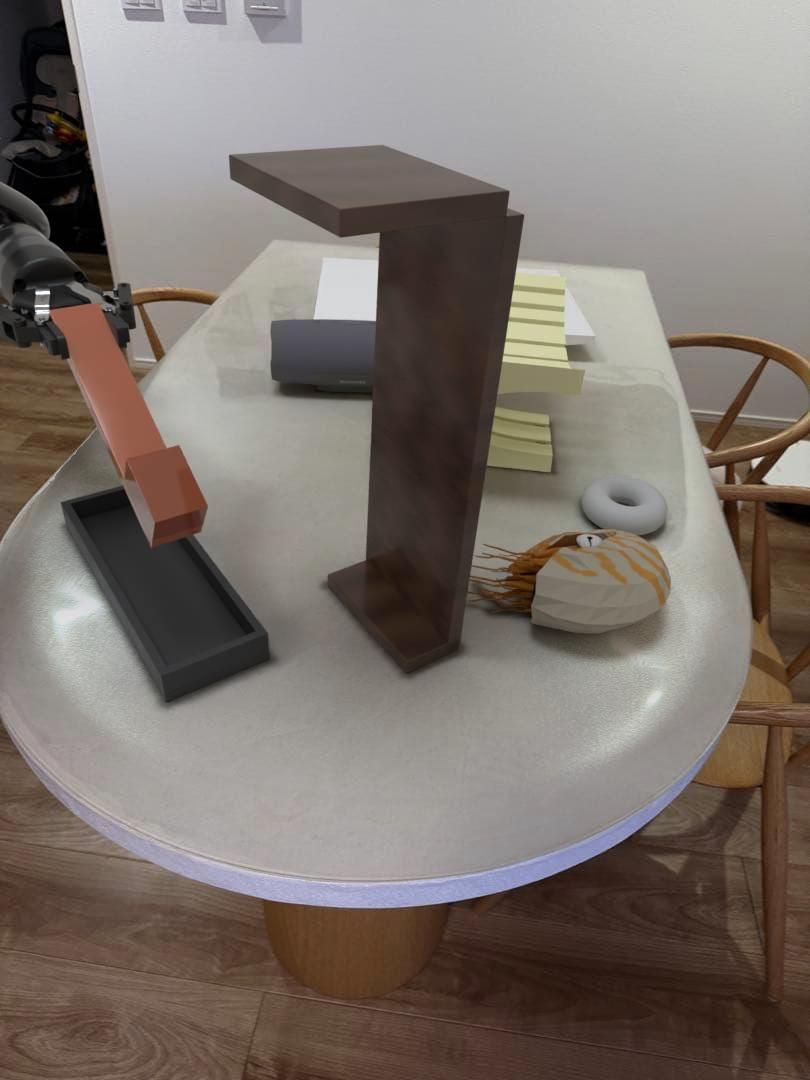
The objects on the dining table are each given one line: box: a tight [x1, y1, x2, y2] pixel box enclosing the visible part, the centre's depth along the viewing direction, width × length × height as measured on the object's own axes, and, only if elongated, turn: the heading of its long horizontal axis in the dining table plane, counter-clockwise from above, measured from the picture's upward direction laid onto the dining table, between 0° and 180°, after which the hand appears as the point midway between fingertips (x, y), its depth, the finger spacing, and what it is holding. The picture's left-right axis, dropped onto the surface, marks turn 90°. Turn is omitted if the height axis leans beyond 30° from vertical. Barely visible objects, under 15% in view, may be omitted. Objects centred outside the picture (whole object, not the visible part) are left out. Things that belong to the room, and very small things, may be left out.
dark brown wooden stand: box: [228, 144, 525, 674], centre depth 60 cm, size 14×14×40 cm
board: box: [313, 257, 596, 346], centre depth 135 cm, size 45×32×5 cm
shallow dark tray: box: [60, 484, 270, 703], centre depth 74 cm, size 29×10×3 cm, turn 35°
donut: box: [580, 474, 669, 536], centre depth 89 cm, size 10×4×10 cm
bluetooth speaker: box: [269, 318, 376, 393], centre depth 110 cm, size 23×9×10 cm, turn 94°
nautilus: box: [467, 528, 672, 635], centre depth 75 cm, size 8×22×15 cm
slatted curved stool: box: [487, 273, 586, 473], centre depth 97 cm, size 30×16×18 cm, turn 174°
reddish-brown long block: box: [49, 303, 209, 548], centre depth 65 cm, size 24×4×5 cm
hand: (93, 343), depth 67 cm, fingers closed on reddish-brown long block, 4 cm apart
